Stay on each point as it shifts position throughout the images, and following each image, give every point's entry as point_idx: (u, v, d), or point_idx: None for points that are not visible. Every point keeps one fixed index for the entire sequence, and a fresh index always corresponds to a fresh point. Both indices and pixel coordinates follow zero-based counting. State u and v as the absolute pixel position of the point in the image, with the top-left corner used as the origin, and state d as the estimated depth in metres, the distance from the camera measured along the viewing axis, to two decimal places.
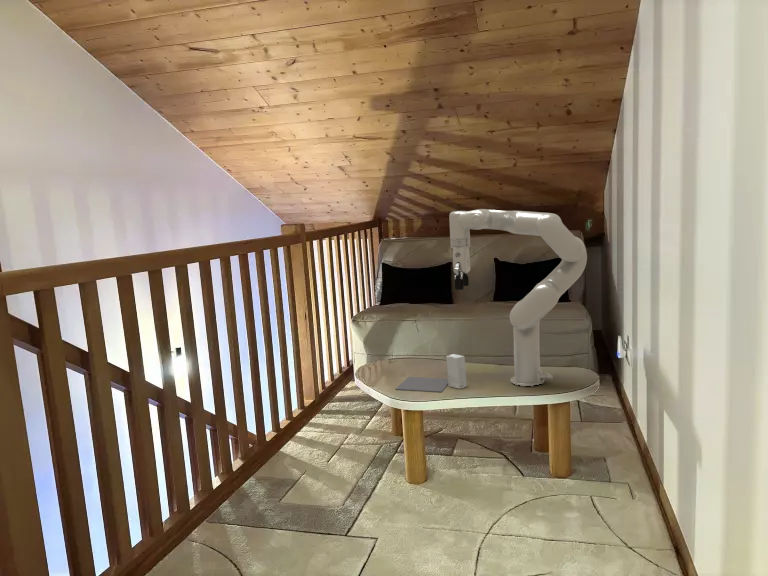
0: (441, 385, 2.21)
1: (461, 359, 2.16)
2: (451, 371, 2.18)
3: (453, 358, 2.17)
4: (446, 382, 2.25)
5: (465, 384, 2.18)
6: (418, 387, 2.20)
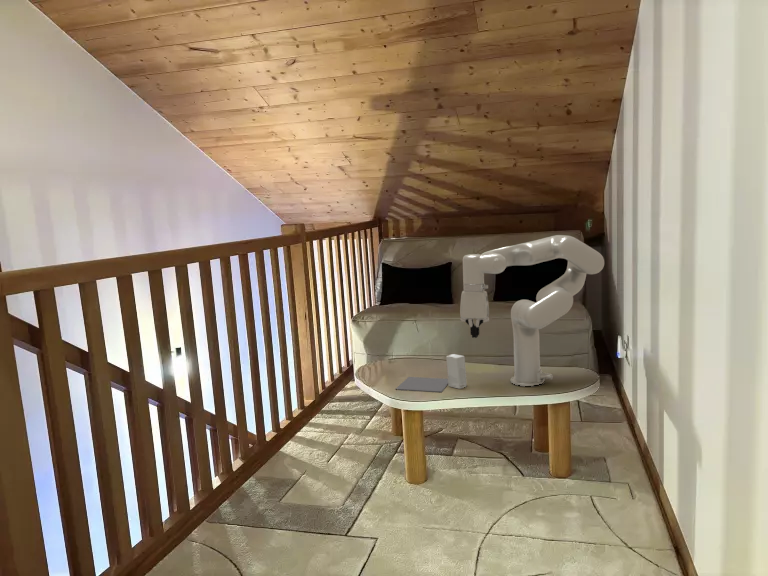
0: (441, 385, 2.21)
1: (461, 359, 2.16)
2: (451, 371, 2.18)
3: (453, 358, 2.17)
4: (446, 382, 2.25)
5: (465, 384, 2.18)
6: (418, 387, 2.20)
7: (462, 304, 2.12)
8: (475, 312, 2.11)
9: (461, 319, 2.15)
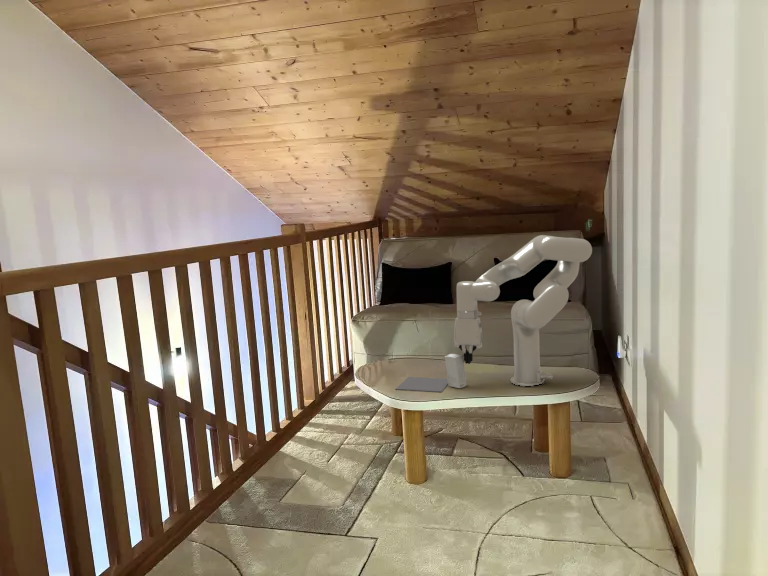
0: (441, 385, 2.21)
1: (459, 358, 2.17)
2: (450, 371, 2.19)
3: (451, 358, 2.17)
4: (446, 382, 2.25)
5: (465, 383, 2.18)
6: (418, 387, 2.20)
7: (456, 330, 2.15)
8: (468, 339, 2.13)
9: (454, 345, 2.17)
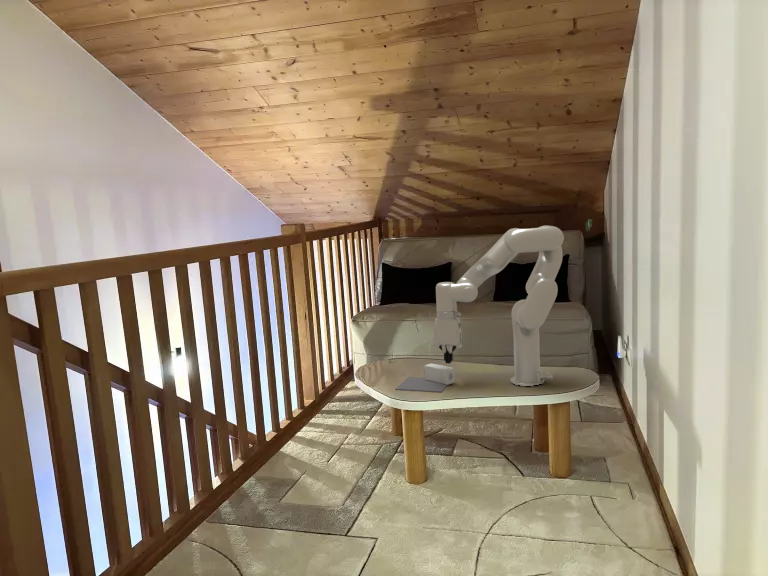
0: (441, 385, 2.21)
1: (429, 364, 2.30)
2: (435, 376, 2.25)
3: (425, 370, 2.29)
4: None
5: (451, 367, 2.23)
6: (418, 387, 2.20)
7: (435, 331, 2.17)
8: (448, 339, 2.16)
9: (435, 345, 2.20)
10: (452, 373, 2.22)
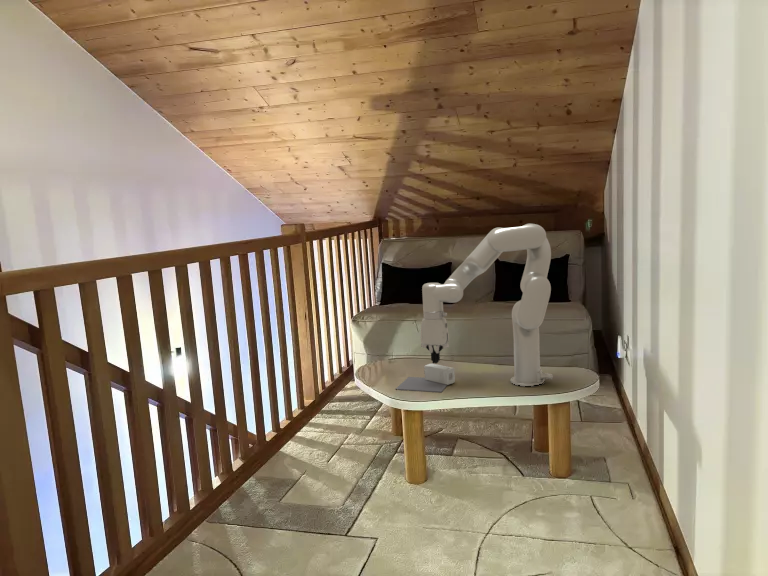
0: (441, 385, 2.21)
1: (429, 364, 2.30)
2: (435, 376, 2.25)
3: (425, 370, 2.29)
4: None
5: (451, 367, 2.23)
6: (418, 387, 2.20)
7: (422, 331, 2.19)
8: (435, 339, 2.18)
9: (422, 345, 2.22)
10: (452, 373, 2.22)
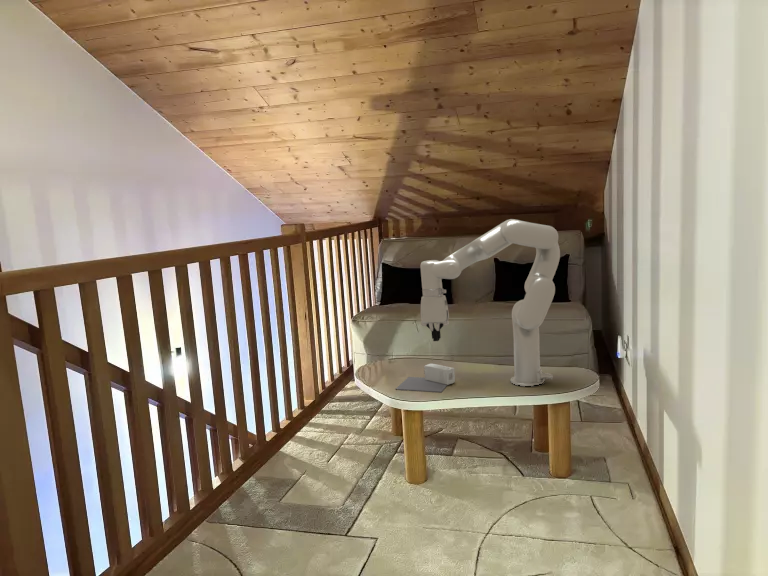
0: (441, 385, 2.21)
1: (429, 364, 2.30)
2: (435, 376, 2.25)
3: (425, 370, 2.29)
4: None
5: (451, 367, 2.23)
6: (418, 387, 2.20)
7: (422, 309, 2.18)
8: (435, 316, 2.17)
9: (422, 324, 2.21)
10: (452, 373, 2.22)
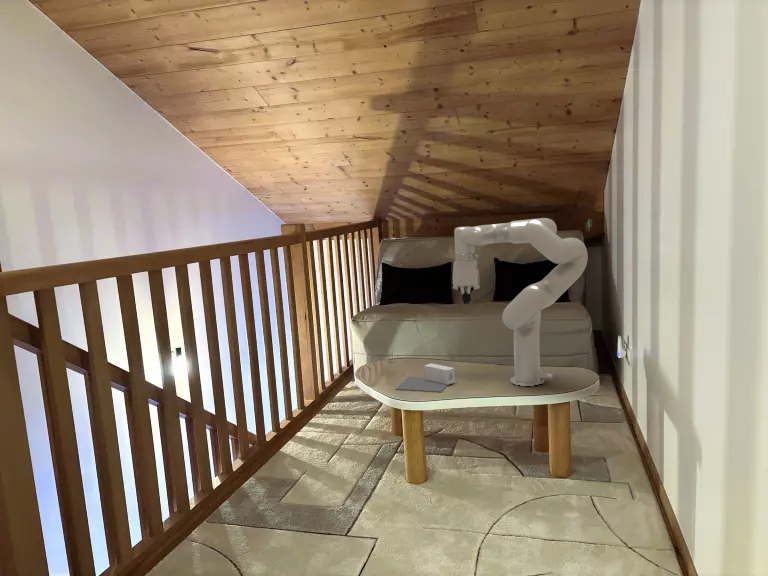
0: (441, 385, 2.21)
1: (429, 364, 2.30)
2: (435, 376, 2.25)
3: (425, 370, 2.29)
4: None
5: (451, 367, 2.23)
6: (418, 387, 2.20)
7: (454, 273, 2.30)
8: (466, 280, 2.29)
9: (454, 287, 2.33)
10: (452, 373, 2.22)
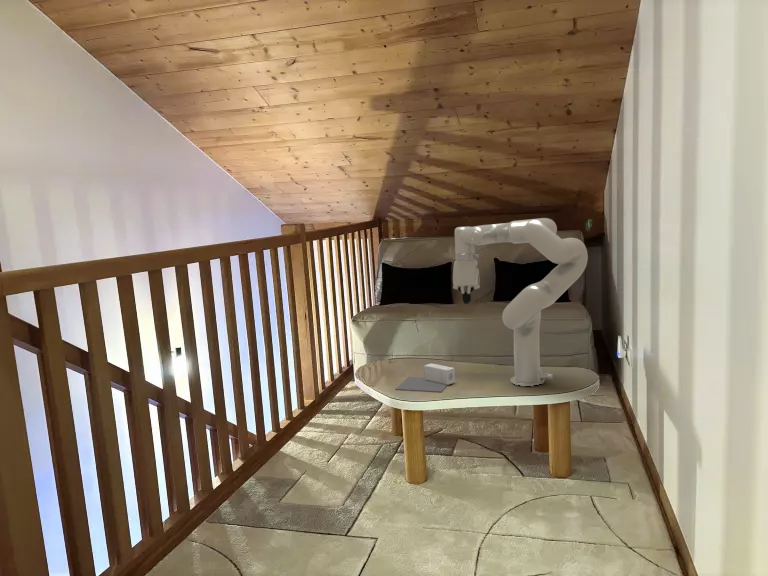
0: (441, 385, 2.21)
1: (429, 364, 2.30)
2: (435, 376, 2.25)
3: (425, 370, 2.29)
4: None
5: (451, 367, 2.23)
6: (418, 387, 2.20)
7: (454, 273, 2.30)
8: (466, 280, 2.29)
9: (454, 287, 2.33)
10: (452, 373, 2.22)
